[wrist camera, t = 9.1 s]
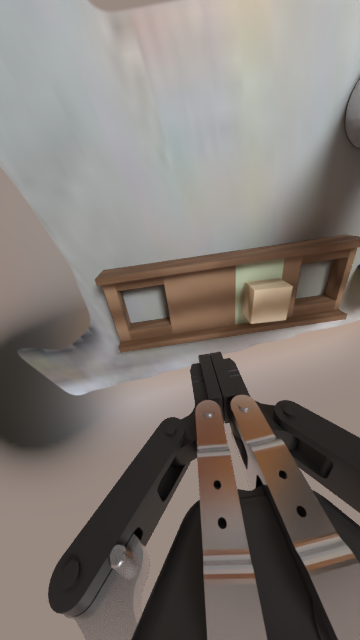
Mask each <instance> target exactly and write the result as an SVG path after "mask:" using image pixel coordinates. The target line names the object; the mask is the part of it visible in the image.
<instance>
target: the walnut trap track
mask: <svg viewBox="0 0 360 640" xmlns="http://www.w3.org/2000/svg"><path fill="white" fill-rule="evenodd" d="M357 247H360V237H358V236H351V235H340V236H333V237H326V238H320V239H313V240H306V241H299V242H292V243H286V244H279V245H272V246H265V247H258V248H252V249H245V250H238V251H231V252H224V253H218V254H211V255H204V256H197V257H191V258H184V259H177V260H170V261H163V262H157V263H150V264H143V265H136V266H129V267H123V268H116V269H109V270H103V271H102V272H101V273H100V274H99V276H98V277H97V278H96V279H95V282H96V284H97V286H99V285H102V287H103V290H104V293H105V296H106V299H107V302H108V305H109V308H110V311H111V314H112V317H113V320H114V323H115V326H116V329H117V332H118V335H119V338H120V341H121V343H120V346H119V350H120V352H127V351H134V350H140V349H147V348H154V347H161V346H167V345H174V344H181V343H188V342H194V341H201V340H208V339H215V338H221V337H228V336H235V335H241V334H248V333H255V332H262V331H268V330H275V329H282V328H289V327H295V326H302V325H309V324H316V323H322V322H329V321H336V320H342V319H346V316H347V314H346V313H344V312H342V311H340V310H339V307H340V303H341V300H342V297H343V293H344V290H345V287H346V283H347V280H348V277H349V273H350V270H351V267H352V263H353V260H354V257H355V254H356V250H357ZM332 259H334V260H333V264H332V268H331V272H330V276H329V280H328V284H327V288H326V292H325V295H319V296H312V297H305V298H299V299H295V297H296V291H297V286H298V280H299V274H300V268H301V264H305V263H312V262H319V261H325V260H332ZM277 278H280V279H282V280H283V281H285V282H287V283H288V284H290V285H292V286H293V289H292V293H291V298H290V303H289V308H288V312H287V317H286V320H282V321H273V322H264V323H255V324H250V322H249V321H248V320H247V318H246V317H245V316H244V314H243V301H244V289H245V282H248V281H258V280H268V279H277ZM163 284H164V286H165V292H166V297H167V303H168V309H169V315H170V318H163V319H157V320H150V321H143V322H136V323H131V322H130V319H129V315H128V312H127V308H126V305H125V301H124V298H123V295H122V290H129V289H136V288H142V287H149V286H156V285H163Z"/></svg>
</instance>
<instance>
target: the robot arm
mask: <svg viewBox="0 0 360 640" xmlns="http://www.w3.org/2000/svg"><path fill="white" fill-rule="evenodd" d="M345 125H346V132H347V135H348V138H349V140H350V141H351V143H352V144H353V145H354V146H356V147H357V148H360V79H359V81H358V82H357V84H356V86H355V88H354V90H353V92H352V94H351V97H350V100H349V103H348V107H347V111H346V121H345ZM190 373H191V379H192V386H193V392H194V399H195V408H194V410H193V412H192V413H191V414H190V415H189V416H187V417H185V418H183V419H181V420H180V419H178V418H175V417H170V418H167V419H165V420H164V421H162V423H161V424H160V425H159V427H158V428H157V429H156V430H155V432H154V433H153V435H152V436H151V437H150V439H149V440H148V441H147V443H146V444H145V445H144V447H143V448H142V449H141V451H140V452H139V454H138V455H137V456H136V458H135V459H134V460H133V462H132V463H131V464H130V466H129V467H128V468H127V470H126V471H125V472H124V474H123V475H122V476H121V478H120V479H119V480H118V482H117V483H116V484H115V486H114V487H113V489H112V490H111V491H110V493H109V494H108V495H107V497H106V498H105V499H104V501H103V502H102V503H101V505H100V506H99V507H98V509H97V510H96V511H95V513H94V514H93V516H92V517H91V518H90V520H89V521H88V523H87V524H86V525H85V526H84V528H83V529H82V530H81V532H80V533H79V534H78V536H77V537H76V538H75V540H74V541H73V543H72V544H71V545H70V547H69V548H68V549H67V551H66V552H65V553H64V555H63V556H62V558H61V559H60V561H59V562H58V564H57V565H56V567H55V569H54V572H53V574H52V577H51V580H50V584H49V592H48V598H49V603H50V606H51V608H52V609H53V610H54V611H55V612H57V613H60V614H64V615H65V616H66V617H68V618H71V619H75V620H76V621H77V623H78V625H79V627H80V629H81V631H82V633H83V634H84V637H85V638H86V640H360V526H359V525H358V524H356V523H355V522H354V521H353V520H352V519H350V518H349V517H348V516H347V515H345V514H344V513H343V512H342V511H341V510H339V509H338V508H337V507H336V506H334V505H333V504H332V503H331V502H330V501H328V500H327V499H326V498H324V497H323V496H321V495H320V494H318V493H317V492H315V491H313V490H312V489H311V487H310V486H309V484H308V482H307V481H306V479H305V477H304V475H303V474H302V472H301V470H300V469H299V468H301V469H302V470H303V471H304V472H306V473H307V474H309V475H310V476H311V477H313V478H314V479H315V480H317V481H318V482H319V483H321V484H322V485H323V486H325V487H326V488H327V489H329V490H330V491H331V492H333V493H334V494H335V495H337V496H338V497H339V498H341V499H342V500H343V501H345V502H346V503H347V504H349V505H350V506H352V507H353V508H354V509H355V510H357V511H358V512H359V513H360V438H359V437H357V436H355V435H353V434H351V433H350V432H348V431H346V430H344V429H343V428H340V427H339V426H337V425H335V424H333V423H332V422H330V421H328V420H326V419H324V418H322V417H320V416H319V415H317V414H315V413H313V412H311V411H309V410H307V409H306V408H304V407H302V406H300V405H298V404H296V403H295V402H292V401H288V400H283V401H279V402H278V403H277V404H276V405H275V406H273V405H266V404H261V403H259V402H257V401H255V400H254V399H253V398H251V397H250V395H249V393H248V391H247V388H246V386H245V384H244V382H243V380H242V377H241V375H240V373H239V371H238V368H237V366H236V364H235V362H233V361H232V360H231V359H230V358H228V359H223V357H222V354H221V352H216V353H210V355H209V354H204V355H199V363H197V364H192V366H191V370H190ZM224 421H225V423H230V426H231V430H232V438H233V440H234V443H235V446H236V449H237V451H238V454H239V457H240V459H241V462H242V465H243V467H244V470H245V473H246V477H247V482H248V486H249V489H250V491H245V490H239V489H237V486H236V481H235V475H234V470H233V465H232V460H231V455H230V451H229V449H228V444H227V439H226V434H225V428H224ZM195 458H197V462H198V479H199V495H200V500H199V501H197V502H196V503H195V504H194V505H193V506H192V507H191V508H190V509H189V511H188V512H187V514H186V516H185V517H184V519H183V521H182V523H181V525H180V528H179V530H178V532H177V535H176V537H175V539H174V542H173V544H172V547H171V548H170V551H169V553H168V555H167V558H166V560H165V563H164V565H163V567H162V569H161V572H160V574H159V576H158V579H157V581H156V583H155V585H154V588H153V590H152V593H151V595H150V597H149V599H148V602H147V604H146V607H145V609H144V611H143V613H142V612H141V598H142V593H143V589H144V586H145V583H146V580H147V578H148V574H149V567H150V561H149V555H148V551H147V549H146V547H145V546H146V544H147V542H148V540H149V539H150V537H151V535H152V533H153V531H154V529H155V527H156V526H157V524H158V522H159V520H160V518H161V516H162V514H163V513H164V511H165V509H166V507H167V505H168V503H169V501H170V499H171V498H172V496H173V494H174V492H175V490H176V488H177V487H178V485H179V483H180V481H181V479H182V477H183V475H184V474H185V472H186V470H187V468H188V466H189V464H190V462H191V461H192V460H194V459H195Z"/></svg>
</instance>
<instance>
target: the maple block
mask: <svg viewBox="0 0 360 640" xmlns="http://www.w3.org/2000/svg"><path fill="white" fill-rule="evenodd" d="M292 289H293V286H292V285H290V284H288V283H287V282H285V281H283V280H282V279H280V278H277V279H268V280H258V281H248V282H245V289H244V301H243V314H244V316H245V317H246V318H247V320H248V321H249V322H250V324H255V323H264V322H273V321H282V320H286V317H287V312H288V308H289V303H290V298H291V293H292Z"/></svg>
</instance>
